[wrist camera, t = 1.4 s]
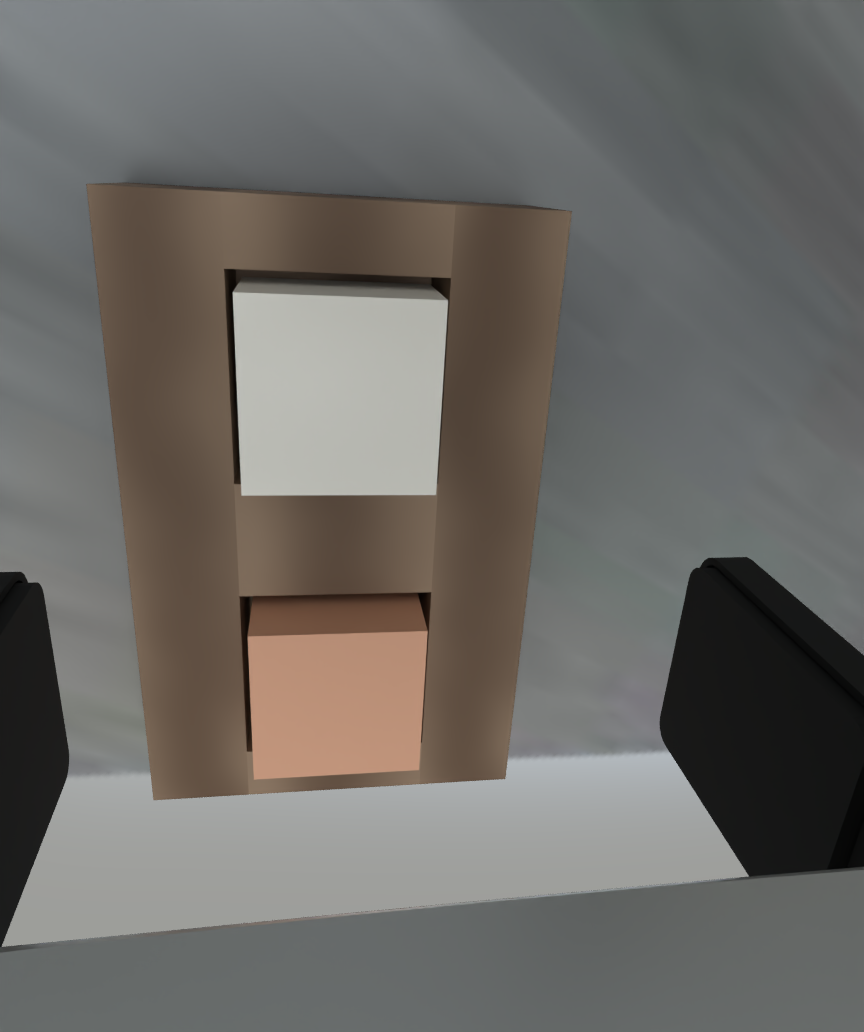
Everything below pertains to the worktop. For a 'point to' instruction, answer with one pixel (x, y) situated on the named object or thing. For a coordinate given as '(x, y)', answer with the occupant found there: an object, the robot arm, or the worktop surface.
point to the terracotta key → (336, 683)
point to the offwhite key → (338, 386)
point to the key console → (321, 518)
